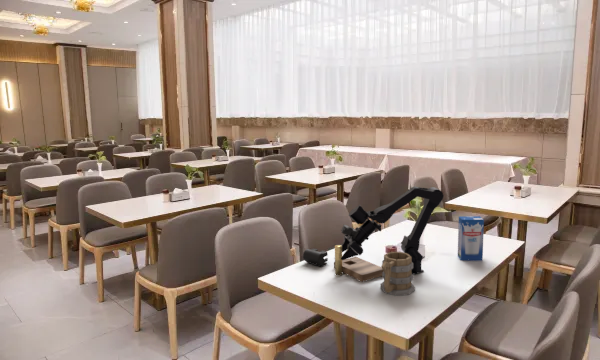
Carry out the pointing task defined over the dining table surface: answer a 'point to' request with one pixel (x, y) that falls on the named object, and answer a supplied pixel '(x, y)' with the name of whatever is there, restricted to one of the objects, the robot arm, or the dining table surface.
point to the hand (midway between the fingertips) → (340, 255)
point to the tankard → (397, 273)
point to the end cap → (315, 257)
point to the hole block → (360, 269)
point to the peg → (338, 260)
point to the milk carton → (470, 238)
